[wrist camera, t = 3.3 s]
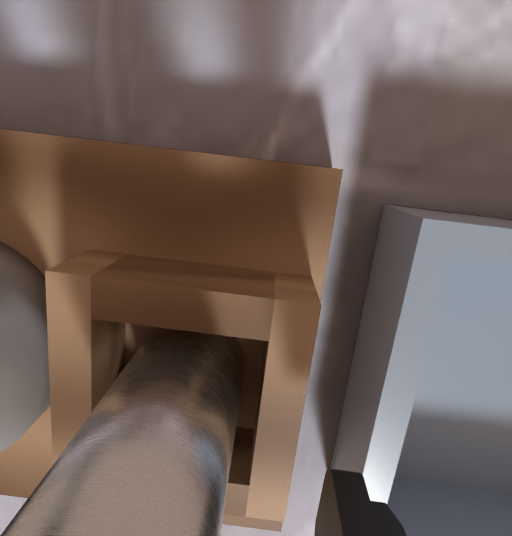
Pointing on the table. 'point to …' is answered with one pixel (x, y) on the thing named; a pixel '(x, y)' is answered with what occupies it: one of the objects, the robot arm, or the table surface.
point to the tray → (435, 375)
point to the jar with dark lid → (148, 447)
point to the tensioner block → (156, 292)
